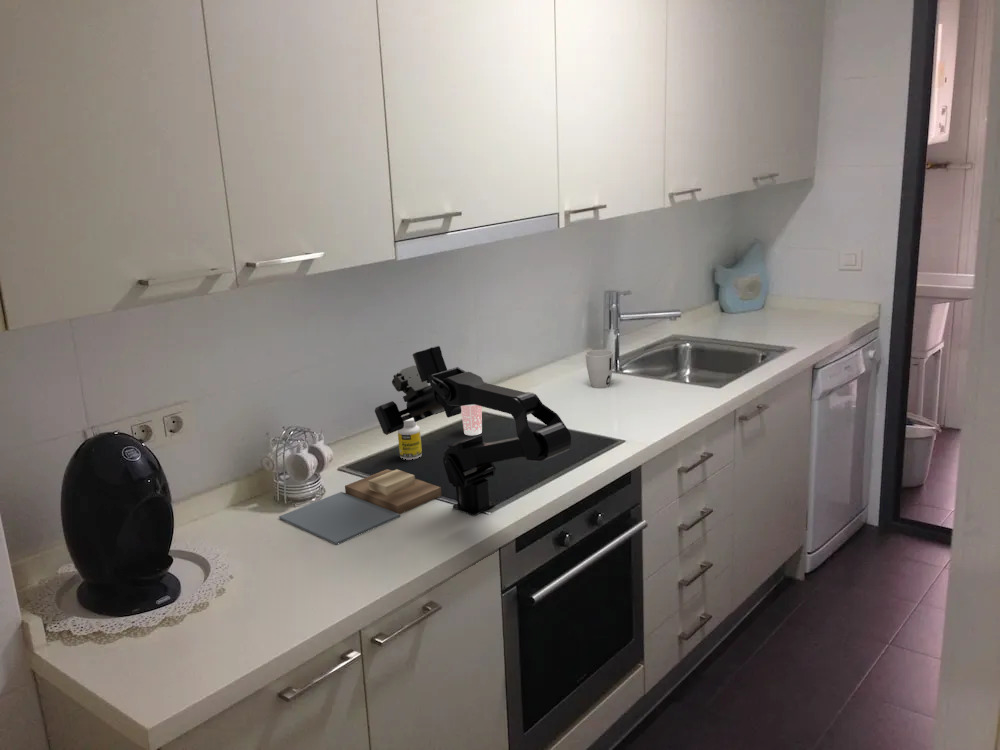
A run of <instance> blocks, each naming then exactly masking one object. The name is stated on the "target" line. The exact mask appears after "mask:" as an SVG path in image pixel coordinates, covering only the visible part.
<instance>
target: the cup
mask: <svg viewBox="0 0 1000 750" xmlns="http://www.w3.org/2000/svg"><path fill="white" fill-rule="evenodd" d="M585 363H586V370H587V374H588V378H589V382H590V385H591V387H592V388H595V389H604V388H608V387H610V383H611V379H612V375H613V368H614V351H612V350H610V349H609V350H608V349H592V350H588V351H587V352H585Z"/></svg>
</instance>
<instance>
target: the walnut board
mask: <svg viewBox="0 0 1000 750" xmlns="http://www.w3.org/2000/svg"><path fill="white" fill-rule="evenodd" d="M391 471H393V470H391V469H388V468H387V469H383V470H381V471H379V472H377V473H373V474H371V475H369V476H366V477H364V478H361V479H359V480H357V481H353V482H351V483H349V484H346V485H344V493H347V494H349V495H352V496H354V497H357V498H359V499H362V500H365V501H367V502H370V503H372V504H375V505H377V506H380V507H383V508H385V509H388V510H390V511H393V512H395V513H398V514H400V515H401V514H403V513H406V512H408V511H410V510H413V509H415V508H417V507H420V506H422V505H423V504H424V505H425V504H427V503H429V502H431V501H434V500H435V499H438V498H439V496H440V497H441V496H442V488H441V486H438V485H435V484H432V483H429V482H426V481H424V480H422V479H418V478H415V484H414V485H411V486H409V487H407V488H404V489H402V490H399V491H397V492H395V493H392V494H390V495H387V496H386V495H383V494H380V493H378V492H375V491H372V490H370V489H369V484H368V480H371V479H374V478H376V477H379V476H381V475H384V474H386V473H389V472H391ZM437 497H438V498H437Z"/></svg>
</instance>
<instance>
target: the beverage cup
mask: <svg viewBox="0 0 1000 750" xmlns="http://www.w3.org/2000/svg"><path fill="white" fill-rule="evenodd" d="M461 409H462V410H461V419H462V420H461V421H462V427H463V433H464V435H466V436H477V435H478V436H479V435H480V434H481V435H482V432H483V419H482V418H483V417H482V415H483V413H482V411H483V410H482V409H483V408H482V406H478V405H464V406H461Z"/></svg>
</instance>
